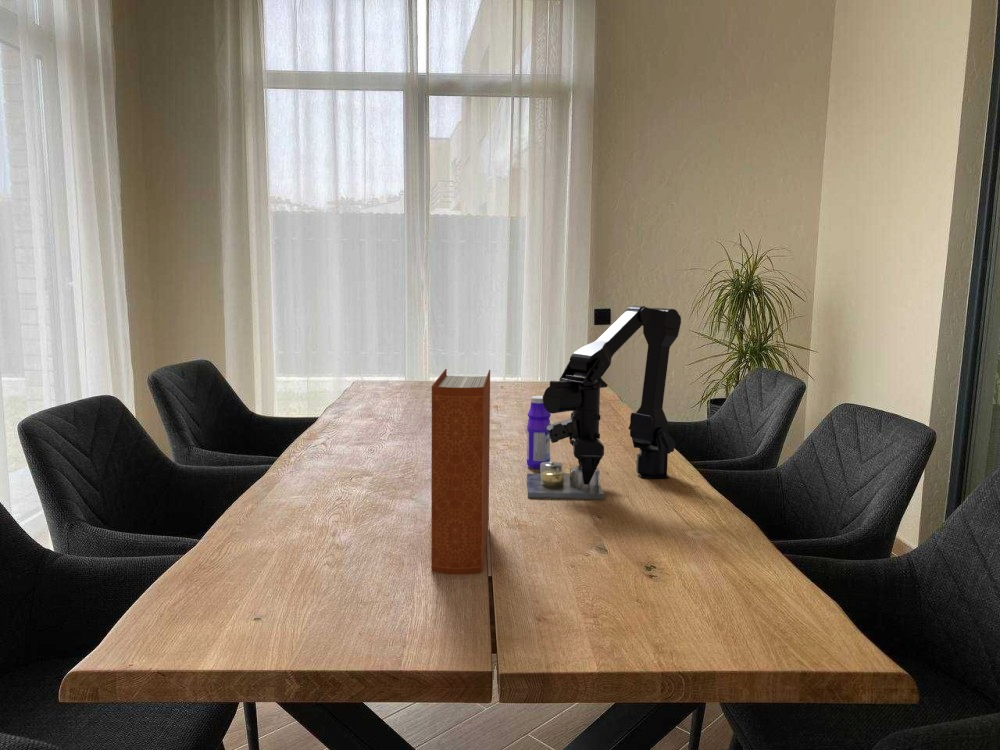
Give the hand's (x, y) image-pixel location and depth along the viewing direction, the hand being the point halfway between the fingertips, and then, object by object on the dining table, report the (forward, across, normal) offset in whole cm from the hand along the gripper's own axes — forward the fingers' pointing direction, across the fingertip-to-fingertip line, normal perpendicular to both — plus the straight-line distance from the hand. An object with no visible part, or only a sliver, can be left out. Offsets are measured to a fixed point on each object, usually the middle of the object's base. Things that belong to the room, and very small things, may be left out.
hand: (584, 478), depth 176 cm
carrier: (+3, -1, -4) cm, 5 cm away
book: (+3, +39, -24) cm, 46 cm away
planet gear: (+1, 0, 0) cm, 1 cm away
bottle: (+3, -21, -10) cm, 23 cm away
